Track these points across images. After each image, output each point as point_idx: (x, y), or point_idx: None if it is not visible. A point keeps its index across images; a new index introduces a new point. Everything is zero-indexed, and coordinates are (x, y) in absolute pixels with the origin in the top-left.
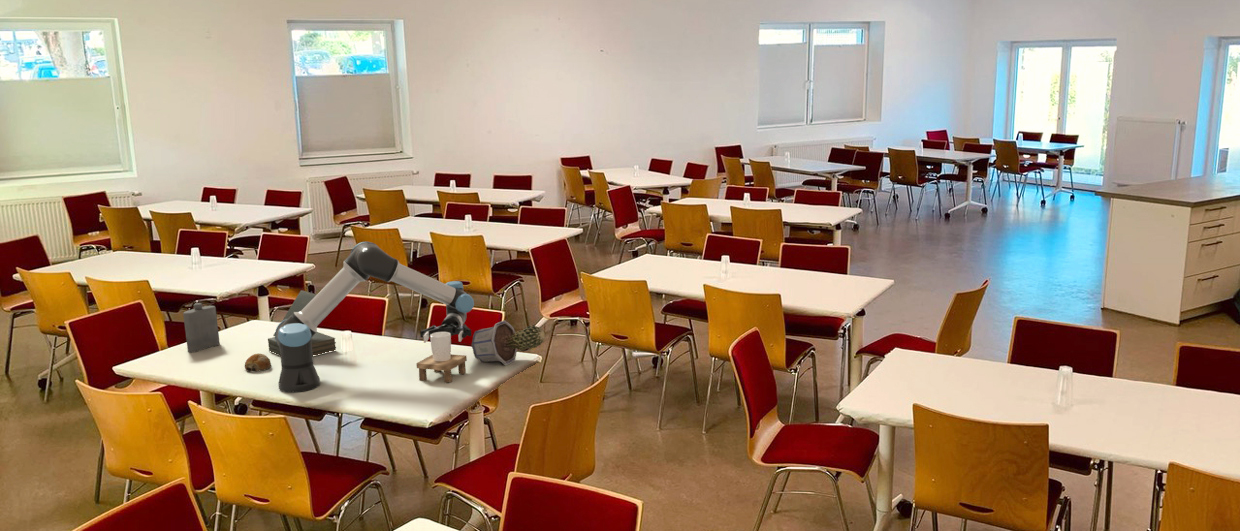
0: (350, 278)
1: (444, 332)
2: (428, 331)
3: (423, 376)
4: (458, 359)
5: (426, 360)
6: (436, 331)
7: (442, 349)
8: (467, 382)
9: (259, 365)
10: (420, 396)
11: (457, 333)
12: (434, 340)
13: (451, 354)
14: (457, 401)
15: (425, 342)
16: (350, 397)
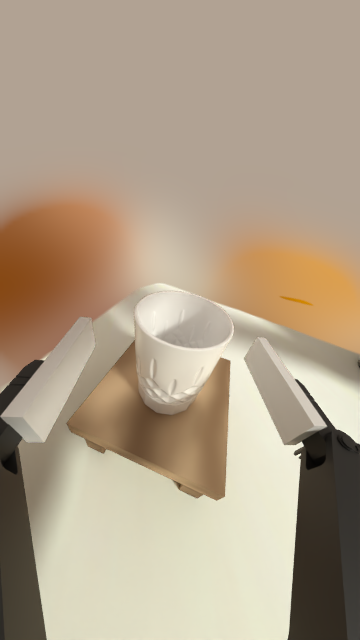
0: None
1: (173, 346)
2: (315, 425)
3: None
4: (111, 374)
5: (214, 379)
6: (319, 580)
7: (164, 331)
8: (100, 361)
9: None
10: None
11: (38, 609)
12: (195, 306)
13: (136, 453)
14: (128, 299)
15: (245, 358)
16: (272, 332)
